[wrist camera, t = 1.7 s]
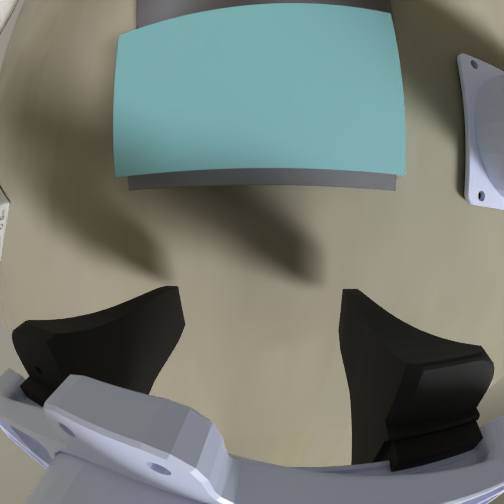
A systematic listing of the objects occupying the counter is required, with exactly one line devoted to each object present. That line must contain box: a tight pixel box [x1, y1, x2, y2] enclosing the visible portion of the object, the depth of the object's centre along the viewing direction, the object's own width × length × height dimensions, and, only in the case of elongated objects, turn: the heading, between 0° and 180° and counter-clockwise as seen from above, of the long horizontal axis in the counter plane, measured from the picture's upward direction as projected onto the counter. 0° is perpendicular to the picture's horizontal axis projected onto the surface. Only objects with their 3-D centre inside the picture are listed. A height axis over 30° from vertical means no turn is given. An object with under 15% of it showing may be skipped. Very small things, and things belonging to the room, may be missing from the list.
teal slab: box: [113, 3, 406, 191], centre depth 9 cm, size 10×7×4 cm, turn 91°
